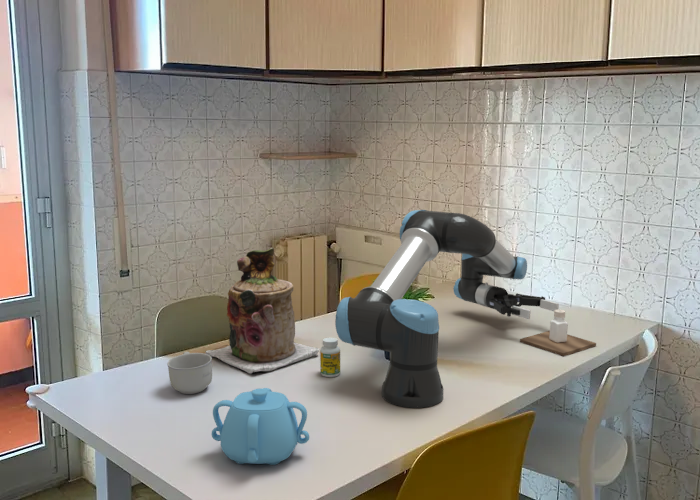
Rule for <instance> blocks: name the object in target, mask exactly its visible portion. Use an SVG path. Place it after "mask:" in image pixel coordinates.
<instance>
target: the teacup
mask: <svg viewBox="0 0 700 500" xmlns="http://www.w3.org/2000/svg"><path fill="white" fill-rule="evenodd" d="M212 361H213V356H210V355H208V354H206V353H204V352H203V353H202V352H189V351H183V353H182V354H179V355H176V356H173V357H172V358H170V359H169V360H168V361H167V363H166V364H167V369H168V377H169V382H170V385H171V387H172V388H173V389H174V390H175V391H177V392H178V393H181V394H184V395H193V394H198V393H201V392H204V390H205V389H207V387H208V386H209V385H211V383H212V380H213V364H212Z"/></svg>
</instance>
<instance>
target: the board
mask: <svg viewBox="0 0 700 500" xmlns="http://www.w3.org/2000/svg"><path fill="white" fill-rule="evenodd" d="M549 335H550V330H547V331H544V332H541V333H537V334H533V335H529V336H526V337H522V338H519V343H521V344H524V345H528V346H531V347H534V348H537V349H540V350H543V351H546V352H548V353H551V354H555V355H557V356H561V357H566V356H569V355H573V354H575V353H578V352H582V351H585V350H588V349H591V348H594V347H597V342H594V341H590V340H588V339H585V338H581V337H578V336H575V335H570V334H568V333H567V341H566V342H559V343H556V342H554V341H552V340H550V338H549Z"/></svg>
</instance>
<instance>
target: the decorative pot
mask: <svg viewBox="0 0 700 500" xmlns="http://www.w3.org/2000/svg"><path fill="white" fill-rule="evenodd" d="M221 407H229V409H228V410H227V412H226V416H225V418H224V421H222V419H221V417H220V414H219V413H220V412H219V409H220V408H221ZM294 409H297V410H299V411H300V412H301V418H300V423H298V418H297V416H296V413H295V410H294ZM212 416H213V420H214V423H215V425H216V427H214V428H213V429H212V430H211V438H212V439H213V440H215V441H216V442H220V447H221V450H222V452H223V453H224V454H225V456H226V457H227V458H228V459H230V460H232V461H234V462H235V463H236V464H238V465H242V464H255V465H256V464H257V465H260V464H268V465H273V466H274V465H278V464H280V463H281V462H282V461H285V460H287V459H288V458H289V457H290V456H291V454H292V453H293V452H294V450H295V448H296V447H297V445H298V444H301V445H304V444H306V443H307V442H309V440H310V433H309V432H308V431H306V430H303V429H304V427H305V424H306V421H307V418H308V411H307V408H306V407H305V405H304V404H302V403H300V402H297V401H290V400H289V399H288V397H287V395H285V394H284V393H281V392H277V391H273V390H272V389H271V388H268V387H262V388H254V389H252V390H251V391H244V392H241V393H239V394H238V395H236V397H235V398H234V399H233V400H230V399H224V400H220V401H219V402H217V403H216V404H215V405H214V407H213V408H212ZM218 433H219V434H218ZM301 435H303V436H304V437H302V436H301Z"/></svg>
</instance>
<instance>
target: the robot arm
mask: <svg viewBox="0 0 700 500" xmlns="http://www.w3.org/2000/svg"><path fill="white" fill-rule="evenodd" d="M399 239H400V245H399V247H398V248H397V250H396V251H395V253H394V254H393V255H392V257H391V258H390V259H389V261H388V262H387V264H386V265H385V266H384V268H383V269H382V270H381V272H380V273H379V274H378V276H377V277H376V279H375V280H374V281H373V283H371V285H370V286H366V287H363V288H362V289H360V291H359V292H358V294H357V295H355V297H351V296H348V297H343V298H342V299H341V300H340V301H339V303H338V306H337V308H336V313H335V331H336V334H337V337H338V338H339V339H340V340H341V342H343V343H345V344H350V345H352V346H356V347H362V348H368V349H374V350H379V351H384V352H388V353H389V365H388V369H387V372H386V375H385V379H384V381H383V383H382V387H381V397H382V398H383V399H384V401H386V402H387V403H389V404H392V405H395V406H398V407H403V408H412V409H415V408H416V409H417V408H419V409H420V408H427V407H428V408H429V407H431V406H435V405H438V404H439V403H441V402H442V401H443V400H444V387H443V386H444V385H443V384H442V380H441V376H440V372H439V369H438V355H439V354H438V353H439V351H438V350H439V330H440V325H439V323H440V322H439V313H438V311H437V309H436V308H435V307H434V306H432V304H429V303H427V302H424V301H421V300H417V299H406V298H403V297H404V296H405V294H406V293H407V291H408V290H409V288H410V287H411V285H412V284H413V282H414V281H415V280H416V278H417V276H418V275H419V273H420V271H421V270H422V269H423V267H424V266H425V264H427V262H430V261H433V260H434V259H435V258H436V257H437V256H438V255H439V253H449V254H450V253H451V254H461V259H460V260H461V267H460V268H461V269H460V271H461V272H460V273H461V274H460V278H458V279H456V280H455V282H454V285H453V288H452V289H453V294H454V295H455V297H457V298H458V299H460V300H463V301H465V302H468V303H472V304H475V305H476V304H477V305H479V306H482V307H484V308H485V307H486V308H489V309H493V310H494V311H497V312H498V313H499V314H501V315H506V316H507V317H512V315H513V316H516V317H520V318H523V319H526V320H530V319H531V310H530V309H527V308H523V307H521V306H526V307H539V308H540V309H543V310H544V309H545V310H548V311H551V312H554V311H555V310H559V305H560V304H559V302H554V301H550V300H547V299H546V297H545V296H543V295H541V296H535V295H528V294H527V295H526V294H521V293H515V294H513V293H512V294H511V293H509V292H508V291H507V289H505V288H504V287H500V286H496V285H492V284H489V282H483V281H484V276H487V277H494V278H495V277H497V278H503V279H511V280H523V279H525V277H526V275H527V270H528V261H527V258H525V257H521V256H519V255H518V256H515V255H513V254H512V253H511V252H510V251H509V250H508V249H506V247H505V246H503V244H502V243H500V242H499V241H498V240H497V238H496V234H495V233H494V231H493V230H492V229H491V228H490V227H488V226H487V225H486V224H485V223H483V222H481V220H478V219H477V218H474V217H473V216H470V215H467V214H465V213H461V212H460V213H458V212H446V211H436V210H434V211H433V210H427V209H420V210H419V209H415V210H411V211H410V212H408V213H406V215H405V216H404V217H403V219H402V222H401V226H400V228H399Z"/></svg>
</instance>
